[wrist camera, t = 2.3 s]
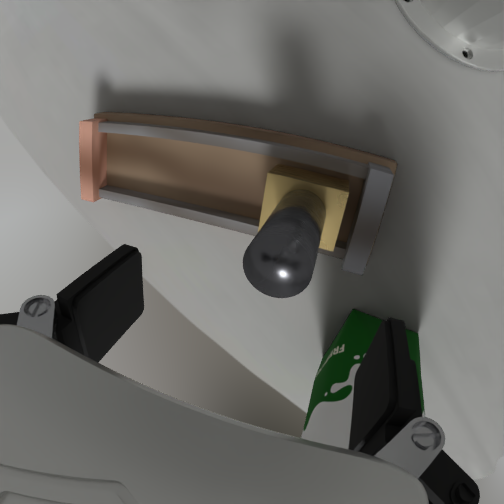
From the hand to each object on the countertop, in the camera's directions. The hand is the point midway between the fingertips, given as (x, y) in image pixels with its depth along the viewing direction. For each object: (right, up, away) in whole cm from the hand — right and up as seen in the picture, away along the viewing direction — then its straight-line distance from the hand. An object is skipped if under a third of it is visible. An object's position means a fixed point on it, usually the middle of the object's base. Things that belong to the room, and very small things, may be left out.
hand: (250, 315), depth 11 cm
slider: (+4, +6, +11) cm, 13 cm away
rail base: (-2, +9, +13) cm, 16 cm away
